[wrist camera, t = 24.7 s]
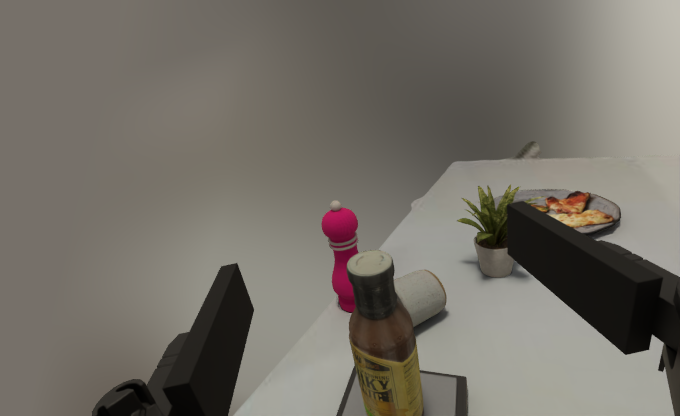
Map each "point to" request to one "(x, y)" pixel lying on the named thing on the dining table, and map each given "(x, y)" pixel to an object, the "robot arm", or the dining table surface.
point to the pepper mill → (341, 250)
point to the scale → (437, 389)
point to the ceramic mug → (420, 295)
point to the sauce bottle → (383, 339)
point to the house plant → (493, 232)
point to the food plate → (572, 208)
